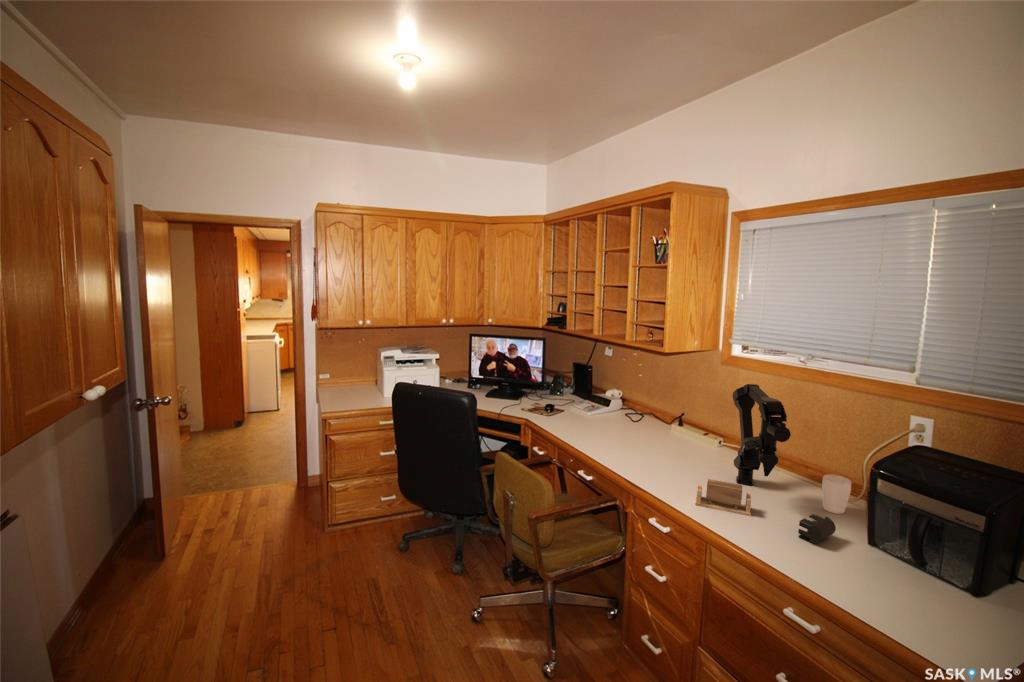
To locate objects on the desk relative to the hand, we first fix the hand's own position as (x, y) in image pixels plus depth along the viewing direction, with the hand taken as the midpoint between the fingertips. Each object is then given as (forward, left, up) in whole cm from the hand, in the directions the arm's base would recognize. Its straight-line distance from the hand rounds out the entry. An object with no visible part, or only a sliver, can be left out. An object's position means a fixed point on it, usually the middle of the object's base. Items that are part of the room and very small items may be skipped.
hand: (765, 471), depth 186 cm
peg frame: (+11, -14, -12) cm, 22 cm away
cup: (-4, +24, -12) cm, 27 cm away
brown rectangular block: (+11, -14, -9) cm, 20 cm away
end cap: (+22, +15, -12) cm, 29 cm away
